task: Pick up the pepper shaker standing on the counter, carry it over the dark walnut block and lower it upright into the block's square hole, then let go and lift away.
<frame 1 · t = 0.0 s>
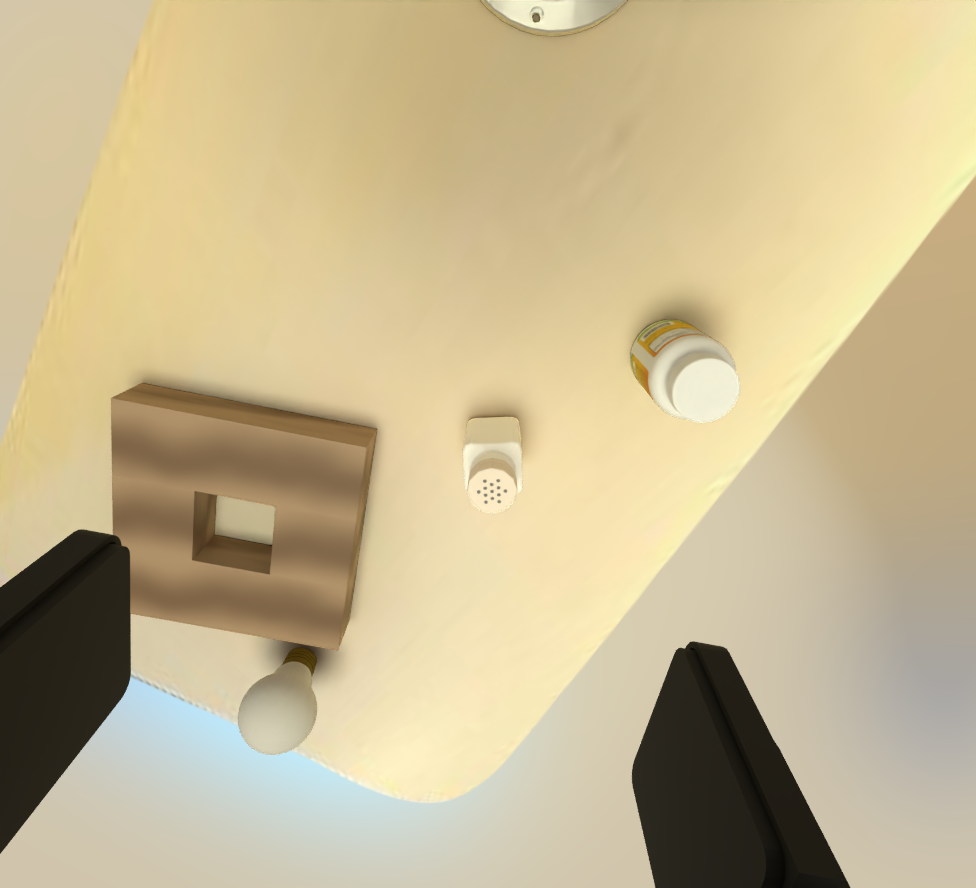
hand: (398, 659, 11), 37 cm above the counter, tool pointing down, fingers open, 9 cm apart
supplement bottle: (665, 354, 46), on the counter
pepper shaker: (494, 438, 49), on the counter
socket block: (252, 509, 51), on the counter
light bulb: (305, 652, 56), on the counter
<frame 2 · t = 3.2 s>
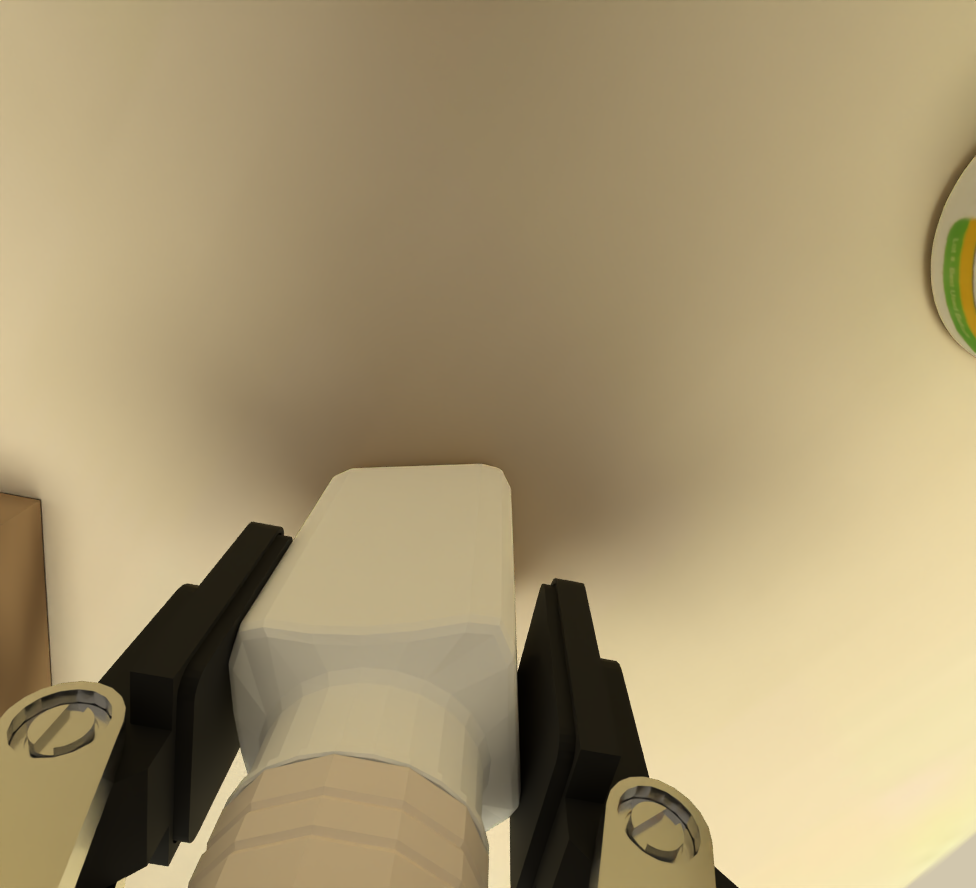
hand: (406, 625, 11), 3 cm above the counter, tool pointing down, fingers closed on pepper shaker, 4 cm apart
pepper shaker: (428, 530, 15), on the counter, touching gripper
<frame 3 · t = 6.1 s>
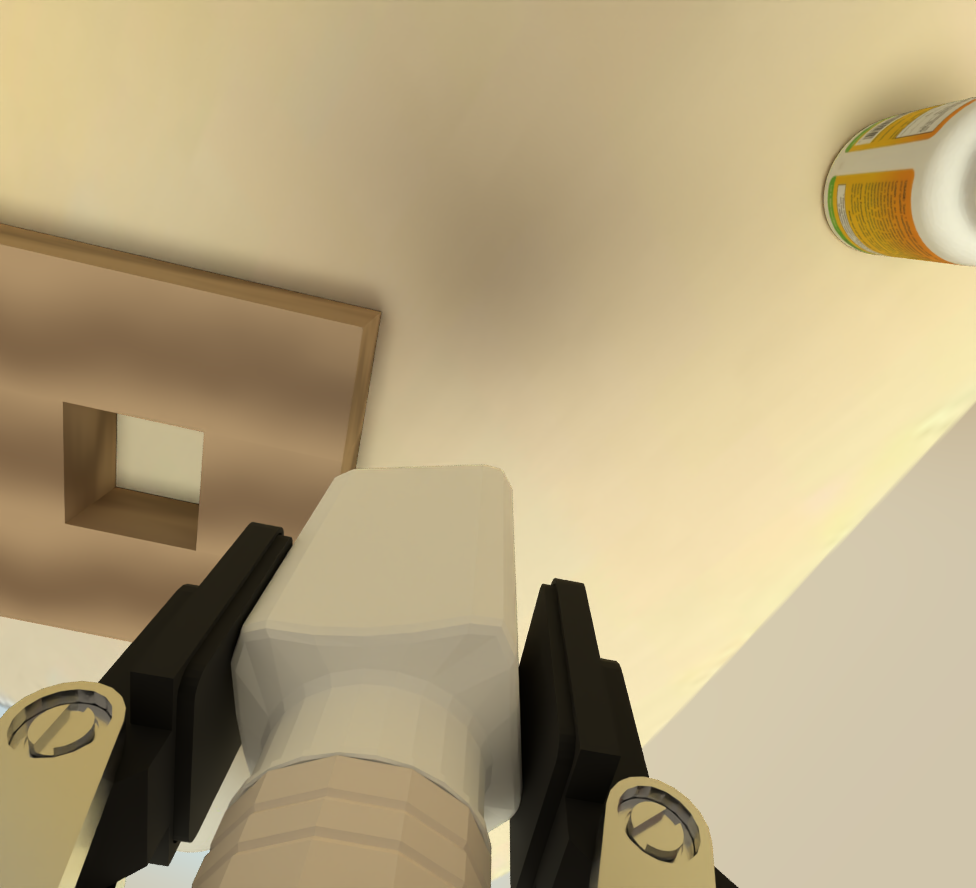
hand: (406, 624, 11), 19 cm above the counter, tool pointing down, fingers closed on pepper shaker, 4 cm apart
supplement bottle: (882, 187, 27), on the counter
pepper shaker: (429, 531, 15), point 16 cm above the counter, touching gripper
socket block: (176, 446, 31), on the counter
light bulb: (261, 673, 37), on the counter
when the fingers open (5 cm above the counter, at t = 9.2 s): pepper shaker drops 2 cm, resting in socket block.
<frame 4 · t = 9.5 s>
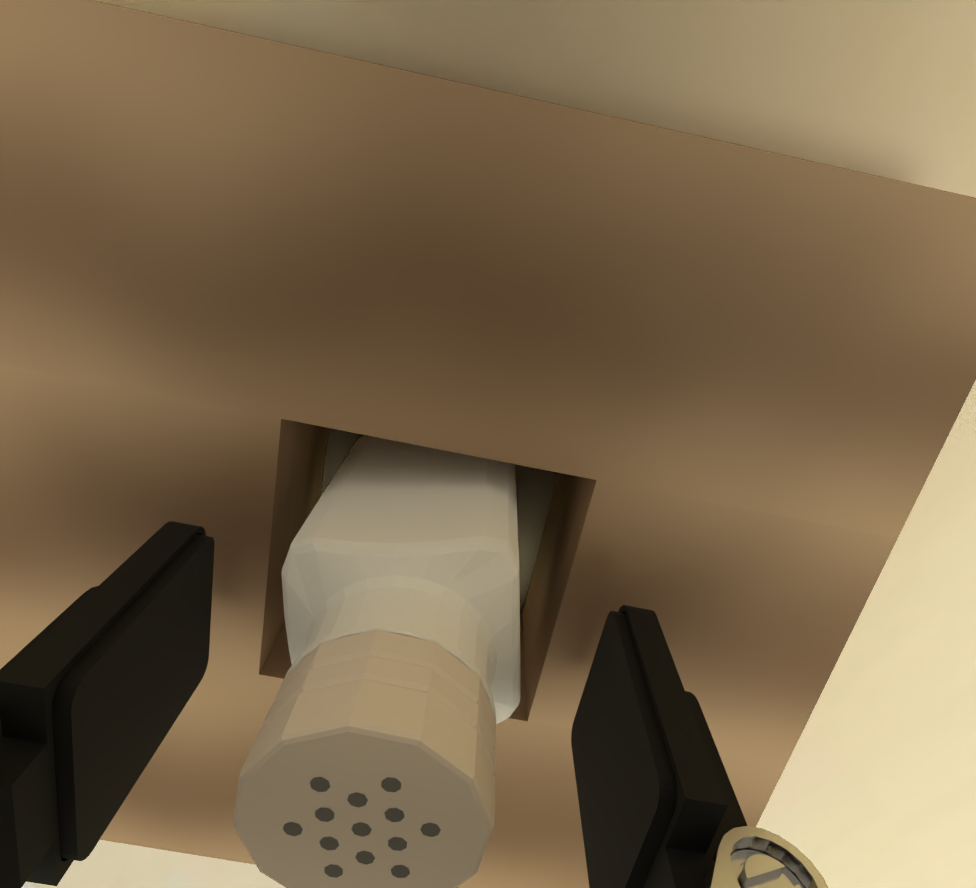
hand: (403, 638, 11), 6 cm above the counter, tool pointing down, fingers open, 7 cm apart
pepper shaker: (439, 491, 17), resting in socket block
socket block: (435, 499, 16), on the counter
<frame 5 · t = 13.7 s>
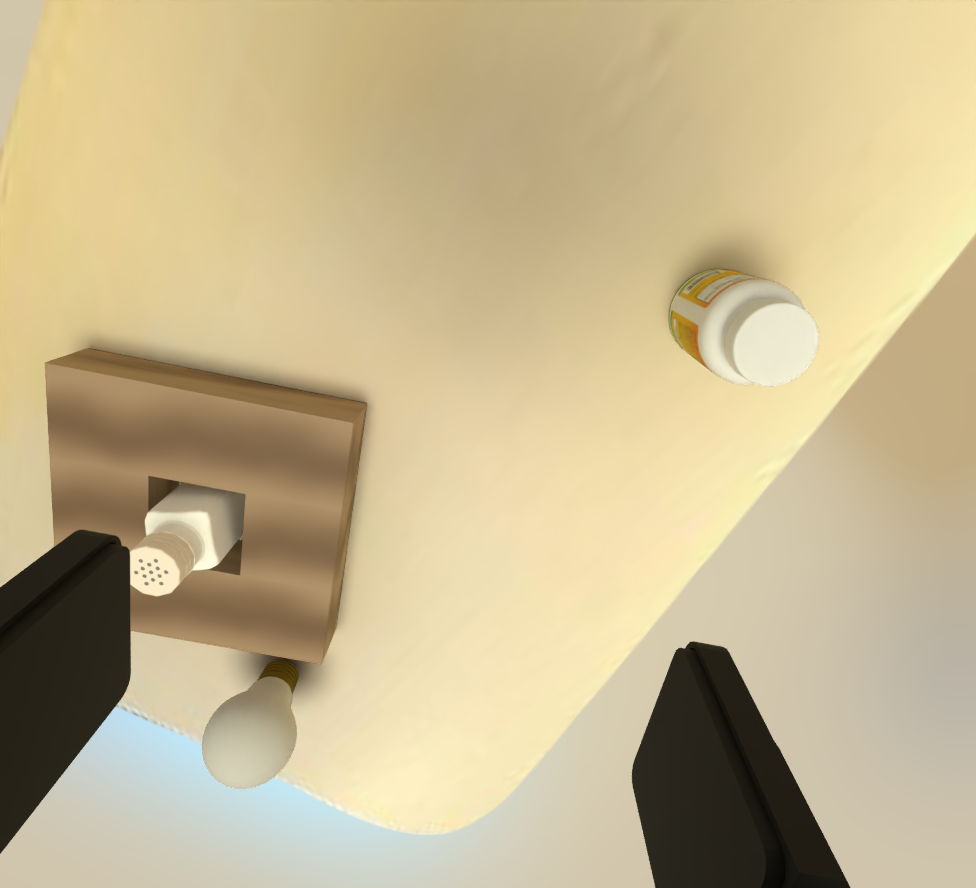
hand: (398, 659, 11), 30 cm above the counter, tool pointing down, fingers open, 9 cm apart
supplement bottle: (710, 313, 38), on the counter
pepper shaker: (224, 496, 44), resting in socket block
socket block: (222, 499, 43), on the counter
light bulb: (285, 664, 49), on the counter
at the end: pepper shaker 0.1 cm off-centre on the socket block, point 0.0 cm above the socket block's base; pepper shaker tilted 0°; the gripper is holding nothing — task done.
